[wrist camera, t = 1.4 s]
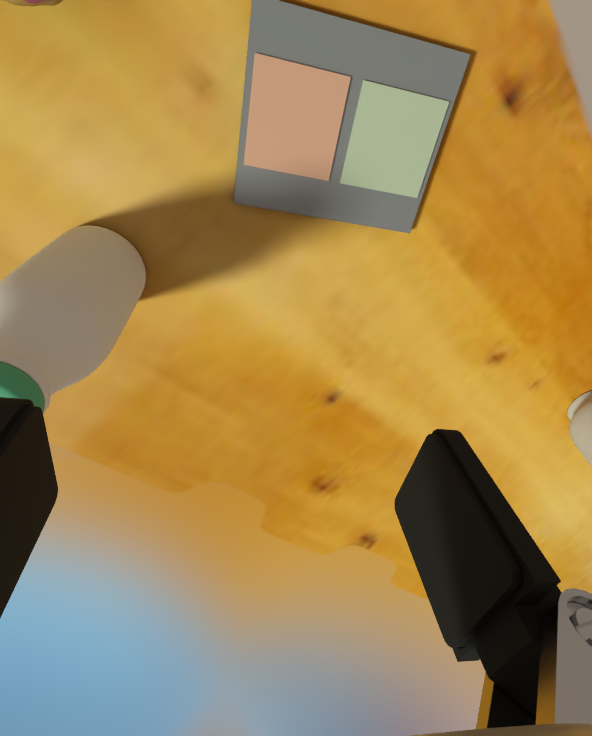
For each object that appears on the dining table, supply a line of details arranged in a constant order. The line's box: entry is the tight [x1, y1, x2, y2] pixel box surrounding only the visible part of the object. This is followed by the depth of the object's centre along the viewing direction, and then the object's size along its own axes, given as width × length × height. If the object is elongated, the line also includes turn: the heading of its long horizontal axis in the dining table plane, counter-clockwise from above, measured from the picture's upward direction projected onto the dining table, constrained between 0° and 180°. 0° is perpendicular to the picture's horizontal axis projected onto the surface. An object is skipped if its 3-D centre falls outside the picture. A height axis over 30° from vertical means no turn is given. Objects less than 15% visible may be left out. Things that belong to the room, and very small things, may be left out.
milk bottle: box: [0, 225, 146, 412], centre depth 27 cm, size 8×8×20 cm
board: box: [234, 0, 471, 233], centre depth 30 cm, size 13×16×1 cm
